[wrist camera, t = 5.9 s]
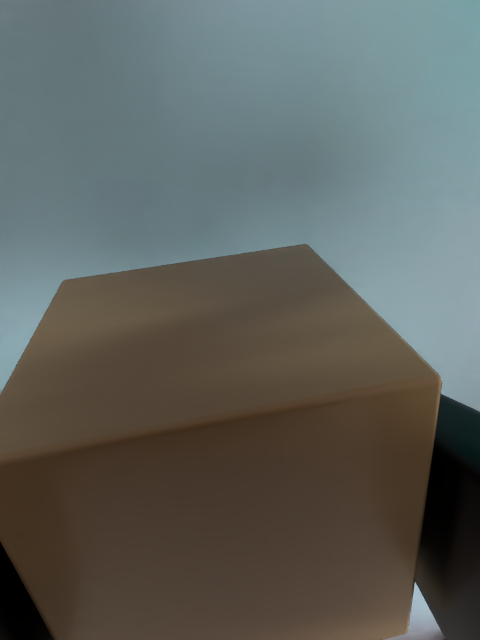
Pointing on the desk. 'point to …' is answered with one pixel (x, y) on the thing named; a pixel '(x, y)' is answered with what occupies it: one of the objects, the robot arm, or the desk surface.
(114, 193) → the desk surface
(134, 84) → the desk surface
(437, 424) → the robot arm
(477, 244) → the desk surface
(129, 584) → the block
